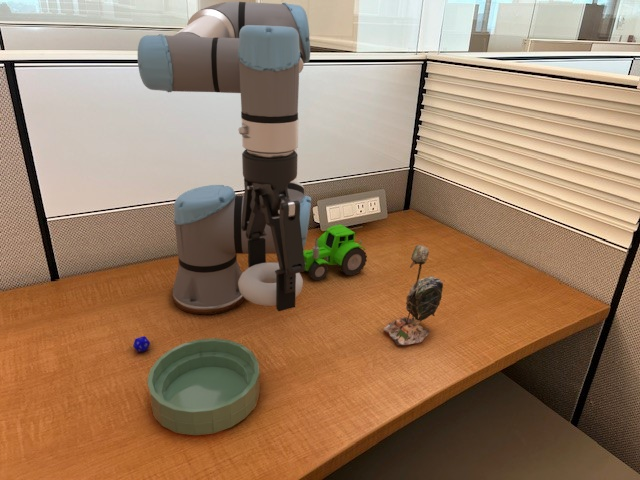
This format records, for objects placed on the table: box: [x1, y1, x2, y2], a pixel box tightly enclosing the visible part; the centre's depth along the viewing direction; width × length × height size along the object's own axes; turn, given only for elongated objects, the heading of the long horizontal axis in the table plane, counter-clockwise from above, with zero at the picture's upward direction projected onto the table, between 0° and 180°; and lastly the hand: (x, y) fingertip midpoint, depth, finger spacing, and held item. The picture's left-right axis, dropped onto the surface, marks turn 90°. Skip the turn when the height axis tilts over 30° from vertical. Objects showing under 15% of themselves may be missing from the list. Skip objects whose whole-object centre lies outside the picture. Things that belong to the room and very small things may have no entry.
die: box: [132, 335, 151, 354], centre depth 84 cm, size 3×3×3 cm
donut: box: [238, 261, 304, 307], centre depth 74 cm, size 10×4×10 cm
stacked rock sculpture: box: [382, 244, 446, 346], centre depth 88 cm, size 8×11×20 cm
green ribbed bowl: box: [146, 337, 261, 436], centre depth 74 cm, size 16×16×5 cm
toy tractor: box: [303, 223, 368, 281], centre depth 112 cm, size 11×16×10 cm
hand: (270, 291), depth 74 cm, fingers closed on donut, 10 cm apart
